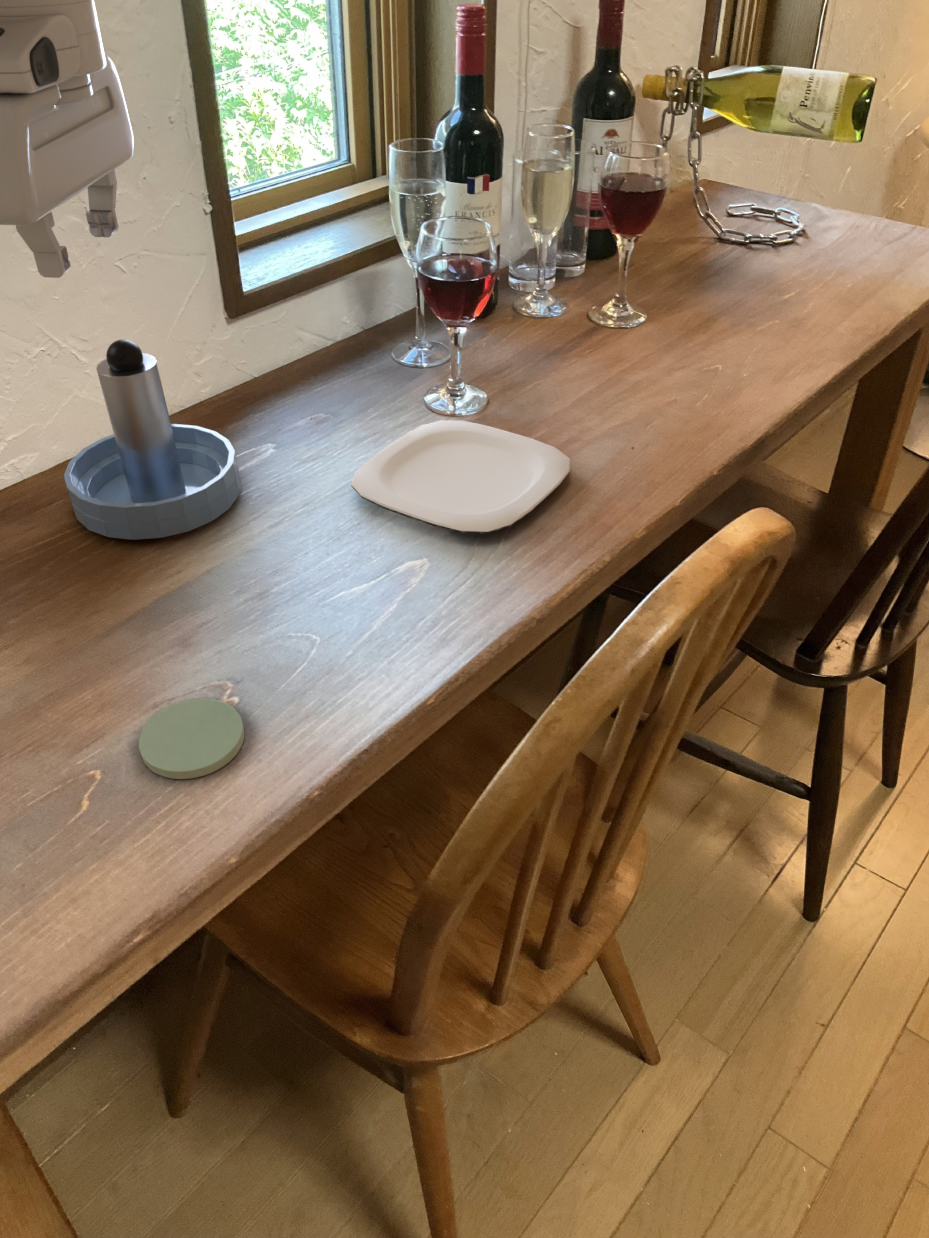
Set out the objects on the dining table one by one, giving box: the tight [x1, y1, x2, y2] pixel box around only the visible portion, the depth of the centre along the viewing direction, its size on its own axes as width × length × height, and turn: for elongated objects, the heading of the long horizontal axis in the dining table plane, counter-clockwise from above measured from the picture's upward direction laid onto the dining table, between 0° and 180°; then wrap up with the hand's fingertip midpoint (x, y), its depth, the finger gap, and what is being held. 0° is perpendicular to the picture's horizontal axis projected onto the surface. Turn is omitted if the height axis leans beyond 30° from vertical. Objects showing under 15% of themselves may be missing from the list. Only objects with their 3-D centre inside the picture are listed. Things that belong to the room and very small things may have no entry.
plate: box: [350, 419, 571, 535], centre depth 92 cm, size 18×18×2 cm
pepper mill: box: [96, 338, 186, 503], centre depth 86 cm, size 5×5×15 cm
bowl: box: [63, 423, 242, 541], centre depth 90 cm, size 15×15×4 cm
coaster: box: [138, 697, 245, 780], centre depth 66 cm, size 7×7×1 cm
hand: (82, 253), depth 72 cm, fingers open, 8 cm apart
